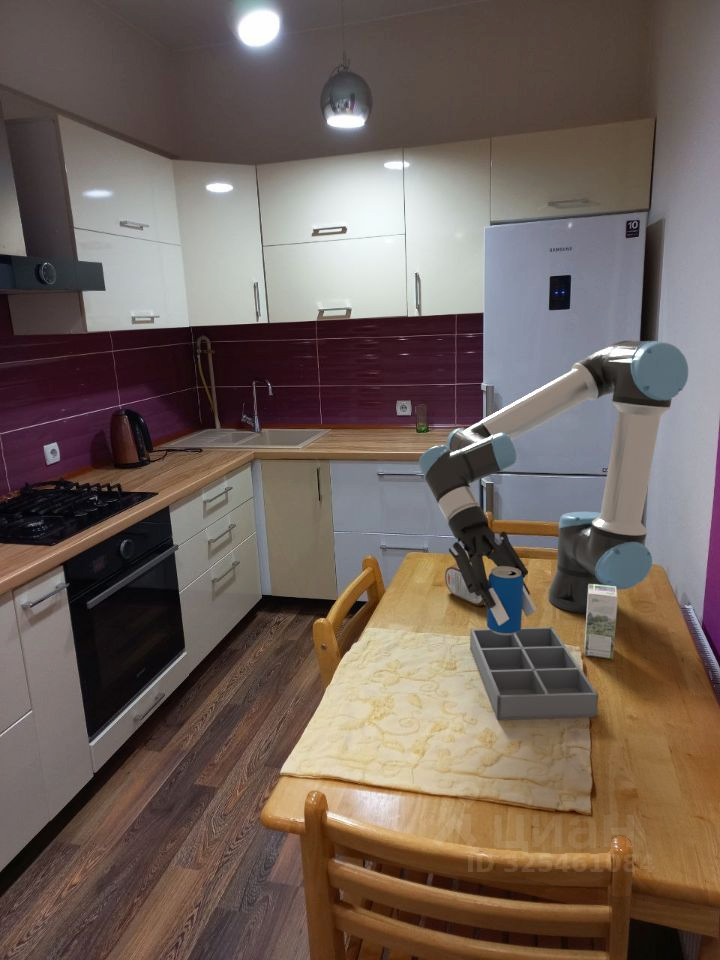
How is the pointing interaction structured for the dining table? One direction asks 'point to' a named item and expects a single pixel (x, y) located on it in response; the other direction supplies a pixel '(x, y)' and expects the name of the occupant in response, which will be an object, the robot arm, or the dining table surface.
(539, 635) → the can crate
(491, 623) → the beverage can
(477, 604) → the tin
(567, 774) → the dining table surface
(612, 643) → the syrup box
